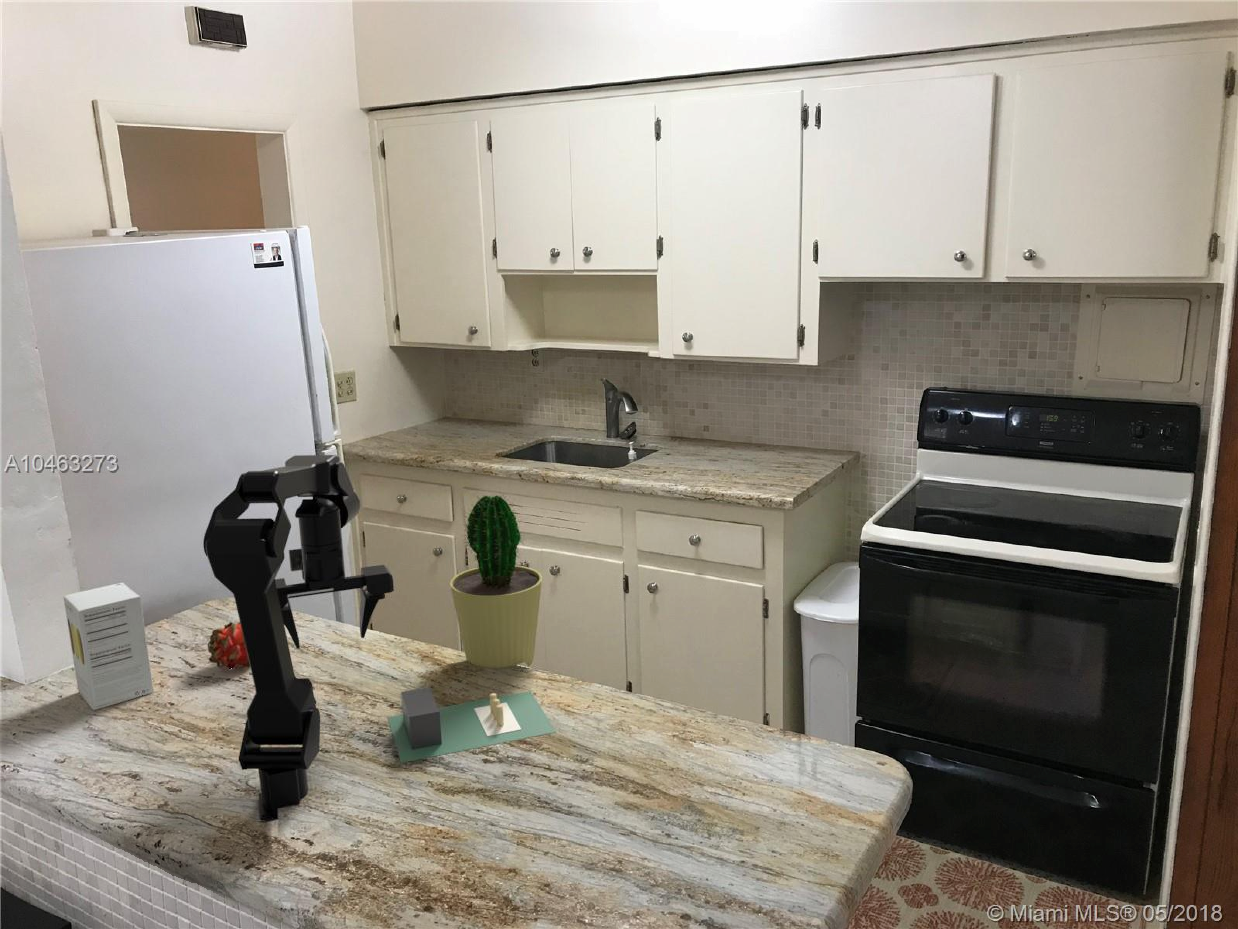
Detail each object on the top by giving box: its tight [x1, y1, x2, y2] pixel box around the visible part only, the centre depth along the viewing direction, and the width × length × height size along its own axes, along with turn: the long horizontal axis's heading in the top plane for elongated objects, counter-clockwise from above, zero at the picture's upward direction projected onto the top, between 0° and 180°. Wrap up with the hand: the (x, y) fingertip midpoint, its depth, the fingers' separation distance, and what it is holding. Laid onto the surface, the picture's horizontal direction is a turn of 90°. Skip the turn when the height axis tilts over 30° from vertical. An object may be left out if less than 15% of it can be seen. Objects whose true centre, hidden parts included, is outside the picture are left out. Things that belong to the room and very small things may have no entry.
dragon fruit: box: [207, 621, 250, 670], centre depth 168 cm, size 8×8×12 cm
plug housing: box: [400, 687, 442, 750], centre depth 141 cm, size 11×4×5 cm, turn 20°
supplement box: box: [63, 582, 154, 711], centre depth 157 cm, size 10×9×17 cm
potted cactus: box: [449, 493, 543, 669], centre depth 164 cm, size 15×15×30 cm
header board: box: [387, 690, 557, 764], centre depth 142 cm, size 14×22×4 cm, turn 110°
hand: (330, 642), depth 144 cm, fingers open, 9 cm apart
